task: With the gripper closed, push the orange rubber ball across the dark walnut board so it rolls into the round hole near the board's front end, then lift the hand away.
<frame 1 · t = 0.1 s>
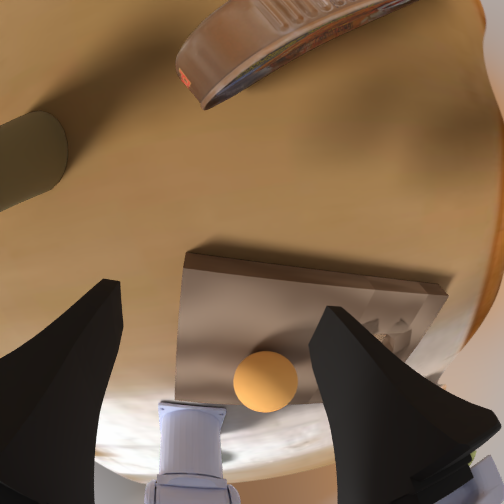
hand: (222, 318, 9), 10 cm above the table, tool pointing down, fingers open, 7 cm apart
ball: (265, 381, 20), point 4 cm above the table, touching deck
tin: (297, 30, 13), on the table
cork: (36, 152, 14), on the table
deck: (310, 343, 25), on the table
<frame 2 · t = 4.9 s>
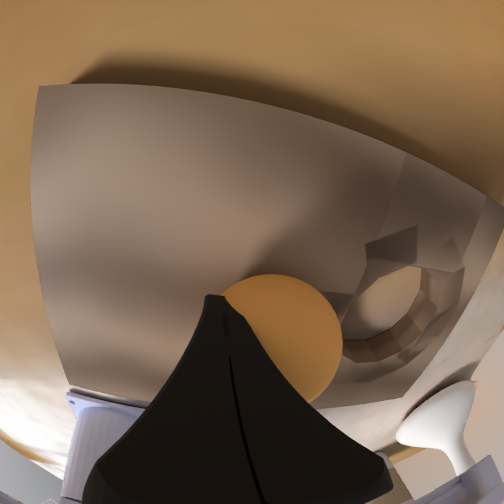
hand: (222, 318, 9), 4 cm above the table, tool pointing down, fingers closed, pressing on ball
ball: (270, 344, 10), point 4 cm above the table, tilted 71°, touching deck, gripper
flower in vase: (435, 399, 25), on the table
coffee cup: (362, 461, 31), on the table
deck: (290, 290, 14), on the table
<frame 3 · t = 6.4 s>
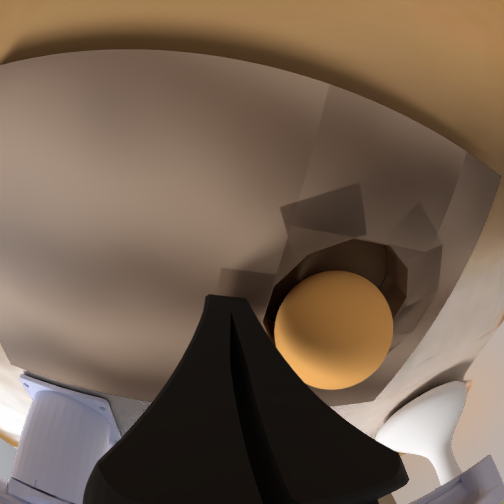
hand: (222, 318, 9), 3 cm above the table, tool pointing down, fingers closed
ball: (334, 330, 11), point 2 cm above the table, tilted 139°
flower in vase: (422, 399, 23), on the table
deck: (209, 269, 12), on the table
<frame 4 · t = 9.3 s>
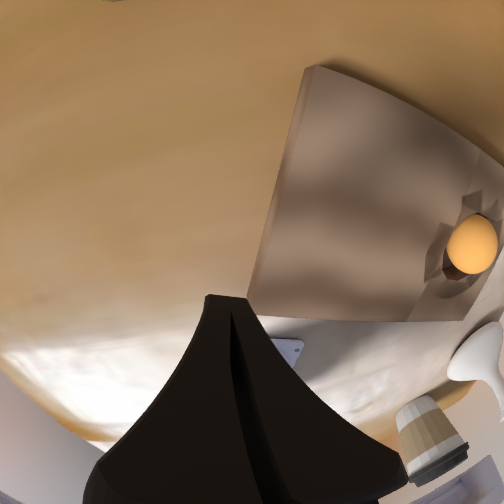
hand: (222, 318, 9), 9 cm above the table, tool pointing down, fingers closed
ball: (472, 243, 18), point 2 cm above the table, tilted 148°
flower in vase: (473, 340, 31), on the table
coffee cup: (412, 405, 38), on the table
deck: (416, 226, 20), on the table
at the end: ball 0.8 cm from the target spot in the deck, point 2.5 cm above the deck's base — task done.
